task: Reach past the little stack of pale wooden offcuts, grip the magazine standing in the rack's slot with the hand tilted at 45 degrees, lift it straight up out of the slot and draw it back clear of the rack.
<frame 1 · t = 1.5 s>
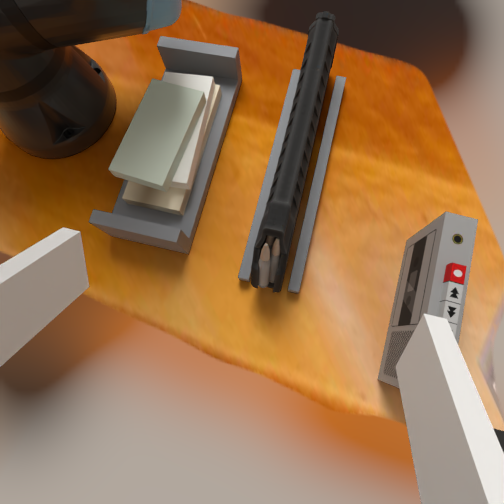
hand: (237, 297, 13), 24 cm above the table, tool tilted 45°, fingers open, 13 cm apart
cassette player: (404, 310, 36), on the table
offcut 3: (161, 138, 38), point 5 cm above the table, touching offcut 2
offcut 2: (179, 133, 39), point 3 cm above the table, touching offcut 1, offcut 3
offcut 1: (176, 146, 41), point 1 cm above the table, touching offcut 2, rack
rack: (240, 165, 41), on the table
magazine: (294, 173, 41), on the table
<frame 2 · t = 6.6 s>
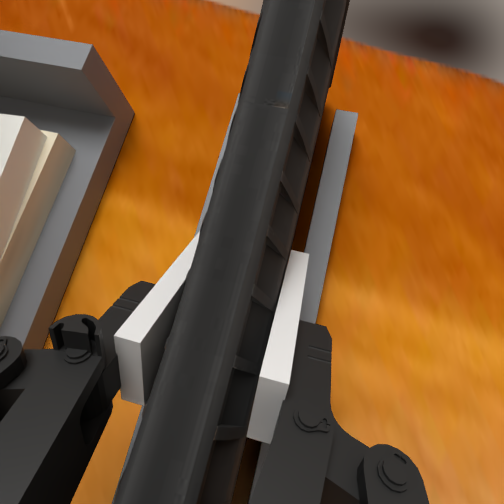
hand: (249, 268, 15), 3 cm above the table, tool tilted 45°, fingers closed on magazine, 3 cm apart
rack: (109, 320, 18), on the table
magazine: (239, 339, 17), on the table, touching gripper
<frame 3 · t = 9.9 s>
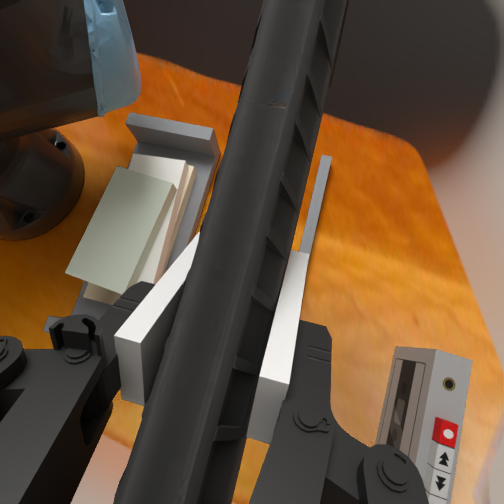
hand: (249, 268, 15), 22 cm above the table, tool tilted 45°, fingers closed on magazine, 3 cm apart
cassette player: (392, 429, 33), on the table
offcut 3: (127, 231, 34), point 5 cm above the table, touching offcut 2
offcut 2: (147, 221, 36), point 3 cm above the table, touching offcut 1, offcut 3
offcut 1: (146, 233, 37), point 1 cm above the table, touching offcut 2, rack
rack: (215, 252, 38), on the table
magazine: (239, 340, 17), point 19 cm above the table, touching gripper
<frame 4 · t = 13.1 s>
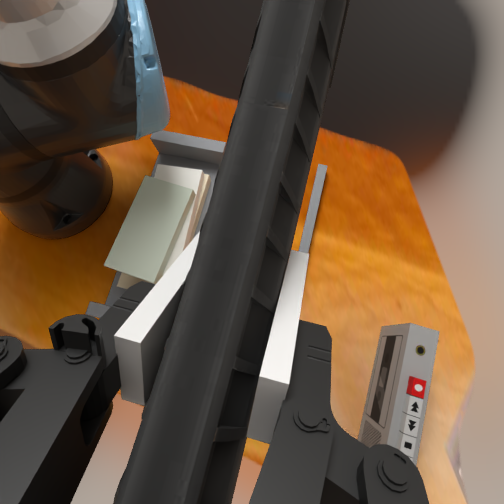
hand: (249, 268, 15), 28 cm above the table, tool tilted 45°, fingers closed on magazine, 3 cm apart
cassette player: (378, 395, 39), on the table
offcut 3: (154, 230, 40), point 5 cm above the table, touching offcut 2
offcut 2: (170, 222, 42), point 3 cm above the table, touching offcut 1, offcut 3
offcut 1: (168, 232, 44), point 1 cm above the table, touching offcut 2, rack
rack: (227, 248, 44), on the table
magazine: (239, 340, 17), point 25 cm above the table, touching gripper
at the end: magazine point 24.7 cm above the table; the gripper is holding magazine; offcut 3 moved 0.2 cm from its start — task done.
